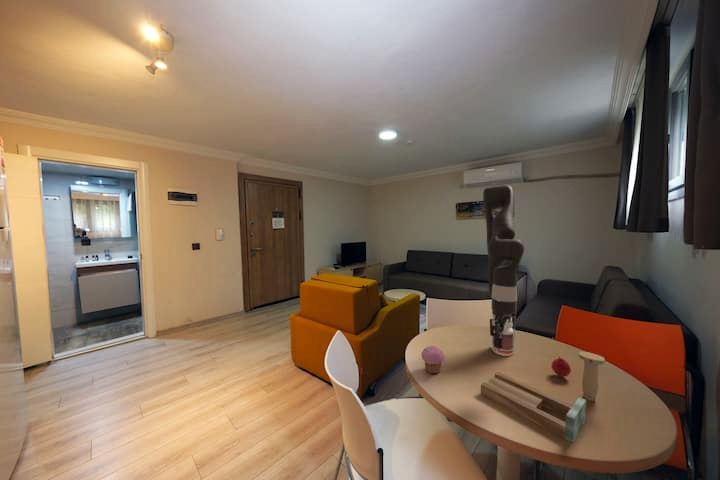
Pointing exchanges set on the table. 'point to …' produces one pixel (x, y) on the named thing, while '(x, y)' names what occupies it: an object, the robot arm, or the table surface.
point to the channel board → (536, 405)
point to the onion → (561, 367)
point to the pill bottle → (505, 342)
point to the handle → (590, 374)
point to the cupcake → (432, 358)
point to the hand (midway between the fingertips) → (502, 344)
